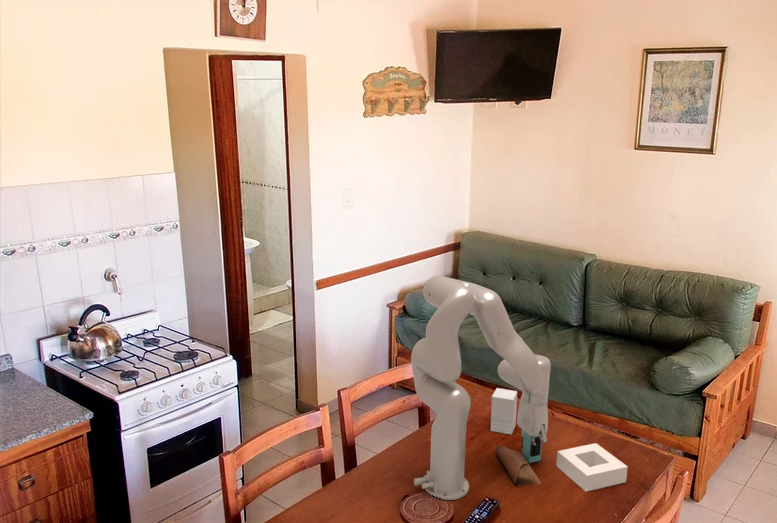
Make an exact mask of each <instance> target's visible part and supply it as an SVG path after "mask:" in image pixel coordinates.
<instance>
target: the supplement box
mask: <svg viewBox="0 0 777 523" xmlns="http://www.w3.org/2000/svg"><path fill="white" fill-rule="evenodd" d="M517 405H518V391H517V390H512V389H505V388H499V387H496V389H495V390H494V392H493V394H492V395H491V408H490V409H491V410H490V411H491V412H490V413H491V414H490V432H494V433H500V434H506V435H512V436H513V432H514V430H515V427H516V426H517V409H518V408H517Z"/></svg>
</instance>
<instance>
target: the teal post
mask: <svg viewBox="0 0 777 523" xmlns="http://www.w3.org/2000/svg"><path fill="white" fill-rule="evenodd" d="M522 437H523V449H521V450H522V451H521V453H522V455H523V456H524V457H525V459H526V460H527V462H528V464H532V463H535V462H540V461H541V459H542V446H543V443H542V444H541V449H540V455H539V456H534V457H531V456H530V450H531V444H532V437H531V436H530V435H529V434H527V433H526V432H525V431H524V434H523V436H522ZM537 439H538V437H536V440H537Z"/></svg>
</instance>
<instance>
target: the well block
mask: <svg viewBox="0 0 777 523" xmlns="http://www.w3.org/2000/svg"><path fill="white" fill-rule="evenodd" d="M556 452H557V454H556V467H557V468H558V469H559V470H560V471H561V472H563V474H565V475H566V476H567V478H569V479H570V480H571V481H573V482H574V483H575V484H576V485H577V486H578V487H579V488H581V489H582V490H583V491H584V492H590V491H594V490H599V489H602V488H603V489H604V488H606V487H611V486H616V485H620V484H625V483H627V478H628V477H627V476H628V468H629V466H627V465H626V464H625V463H623V462H622V461H621V460H619V459H618V458H617V457H616V456H614V455H613V454H612V453H610V452H609V451H607V450H606V449H604V447H602V446H600V444H598V443H597V442H596V443H589V444H587V445H586V444H585V445H580V446H576V447H571V448H567V449H566V448H564V449H562V450H557V451H556Z"/></svg>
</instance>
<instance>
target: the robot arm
mask: <svg viewBox="0 0 777 523" xmlns="http://www.w3.org/2000/svg"><path fill="white" fill-rule="evenodd" d="M422 295H423V298H424V299H425V301H426V302H427V303H428V304H429V305H431V306H433V307H435V308H437V309H436V311H434V314H433V315H432V316H431V317H430V319H429V320H428V323H427V324H426V328H425V337H423V338H421V339H420V340H418V341H417V342H416V343H415V345H414V346H413V348H412V351H411V357H410V360H411V361H410V362H411V368H412V369H411V370H412V375H413V376H412V378H413V383H414V389H415V392H416V395H417V397H418V398H419V400H420V401H421V402H422V403H424V404H425V405H426V406H427V407H429V408H431V410H432V411H434V412H435V414H436V416H435V417H436V418H435V420H434V421H433V423H432V425H431V429H430V430H431V432H430V433H431V434H430V436H431V437H430V461H429V462H430V466H429V467H430V468H429V470H427V471H426V474H425V475H423V477H415V478H413V485H414V486H415V487H416V486H420V485H421V488H422V489H423V490H424V489H425V491H426V492H427V494H429V495H430V494H431V495H430V496H432V495H433V496H435V497H434V498H436V497H438V498H437V499H439V498H441V499H440V500H443V499H444V500H445V501H452V500H458V499H462V498H464V497H465V496H466V495H468V493H469V490H470V483H469V481H468V480H467V478H465V462H466V460H465V459H466V441H467V440H466V439H467V438H466V436H467V435H466V434H467V422H468V417H469V413H470V409H471V401H472V400H471V397H470V395H469V392H468V391H467V390H466V389H465V388H464V387H463V386H462V385H460V384H458V382H456V381H457V380H458V379H459V378H460V376H461V373H462V359H461V350H460V344H459V330H460V326H461V325H462V324H463V321H464V320H465V319H466V317H467V316H468V315H471V316H473V317H474V318H475V320H476V322H477V324H478V327H479V329H480V331H481V333H482V335H483V337H484V339H485V341H486V344H487V345H488V346H489V347H490V348H491V349H492V350H493V351H494V352H495V353H496V354H497V355H499V356H500V357H501V358H502V359H503V360H502V361H500V362H499V364H498V366H497V374H498V376H499V378H500V379H501V380H503V382H506V384H507V383H508V384H509V385H511V386H512V387H515V388H517V389H519V390H520V391H522V392H521V393H522V395H521V397H520V399H519V404H518V408H517V409H518V410H517V414H516V425H518V427H519V428H520V430H521V436H522V439H521V450H523V434H524V431H525V432H526V433H527V434H529V435H530V436H531V437H532V444H531V450H530V456H531V457H534V456H539V455H540V449H541V450H542V447H541V444H542V445H543V443H547V442H548V439H547V438H548V437H547V433H548V426H549V425H548V424H549V411H548V410H549V408H548V401H549V400H548V399H549V391H550V390H549V389H550V388H549V387H550V374H551V364H552V363H551V360H550V359H549V358H548V357H546V356H544V355H540V354H535V353H534V352H533V351H532V350H531V348H530V347H529V346H528V345H527V343H526V342H525V341H524V339H522V336H520V335H519V334H518V333H517V331H516V330H515V328H514V326H513V323H512V321H511V319H510V317H509V315H508V312H507V310H506V307H505V305H504V303H503V300H502V298H501V297H500V295H499V294H498V293H497V292H496V291H494V290H492V289H490V288H488V287H485V286H482V285H479V284H477V283H472V282H468V281H464V280H460V279H456V278H453V277H448V276H444V275H434V276H431V277H430V278H428V279H427V280H426V282H425V283H424V285H423V290H422ZM536 437H538V439H537V440H536ZM433 496H432V497H433Z"/></svg>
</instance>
